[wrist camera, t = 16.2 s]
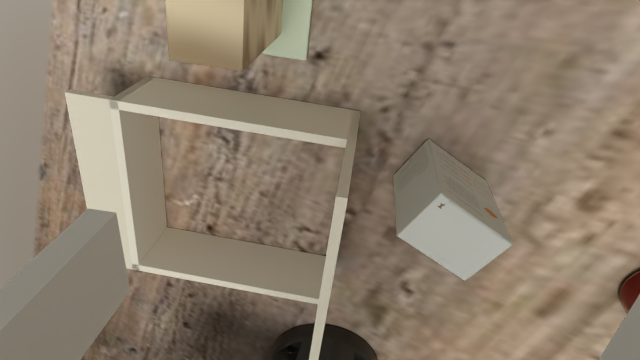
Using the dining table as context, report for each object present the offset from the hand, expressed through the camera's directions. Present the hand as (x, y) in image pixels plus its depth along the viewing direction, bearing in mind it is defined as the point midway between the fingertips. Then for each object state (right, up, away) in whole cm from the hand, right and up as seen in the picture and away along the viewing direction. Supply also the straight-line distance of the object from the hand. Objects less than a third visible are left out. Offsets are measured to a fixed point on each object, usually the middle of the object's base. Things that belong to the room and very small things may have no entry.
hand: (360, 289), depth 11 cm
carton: (-11, +3, +36) cm, 38 cm away
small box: (+11, +3, +33) cm, 35 cm away
